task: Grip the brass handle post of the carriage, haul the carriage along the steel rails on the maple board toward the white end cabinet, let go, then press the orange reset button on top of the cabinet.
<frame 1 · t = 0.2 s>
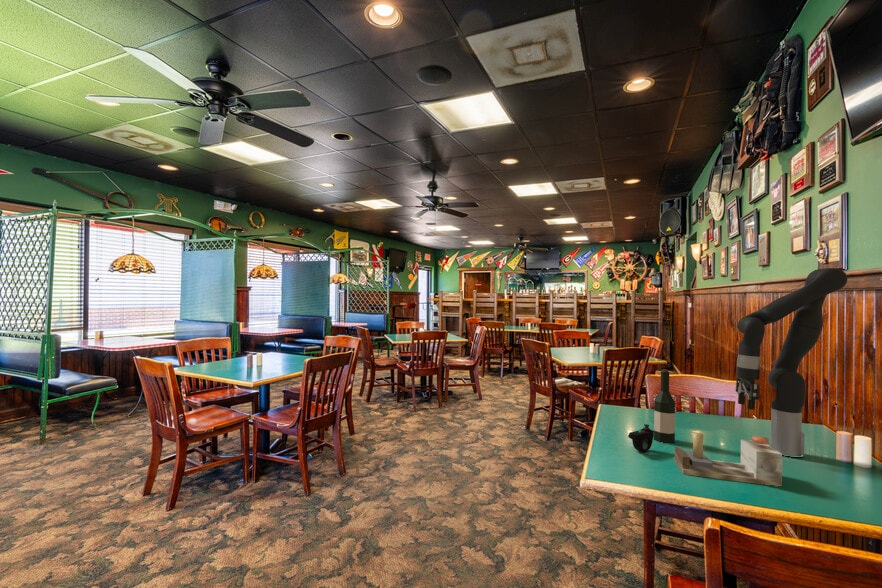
hand: (746, 406, 162), 17 cm above the table, tool pointing down, fingers open, 8 cm apart
rail board: (724, 473, 139), on the table
wine bottle: (664, 440, 171), on the table
carriage: (698, 447, 141), point 8 cm above the table, slide at 5.0 cm
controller: (641, 452, 157), on the table
reset button: (760, 440, 136), point 13 cm above the table, slide at 0.0 cm
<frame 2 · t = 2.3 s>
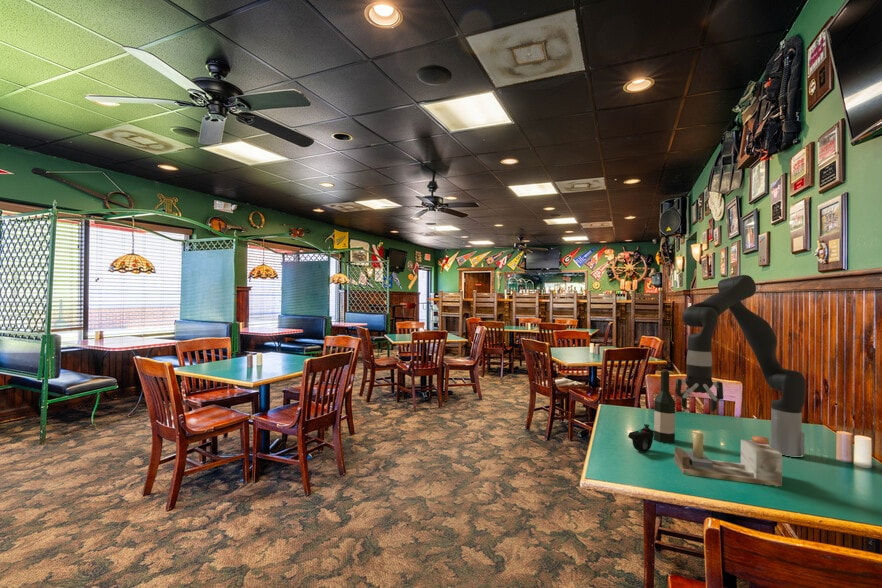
hand: (698, 409, 141), 21 cm above the table, tool pointing down, fingers open, 8 cm apart
nothing on the table moved.
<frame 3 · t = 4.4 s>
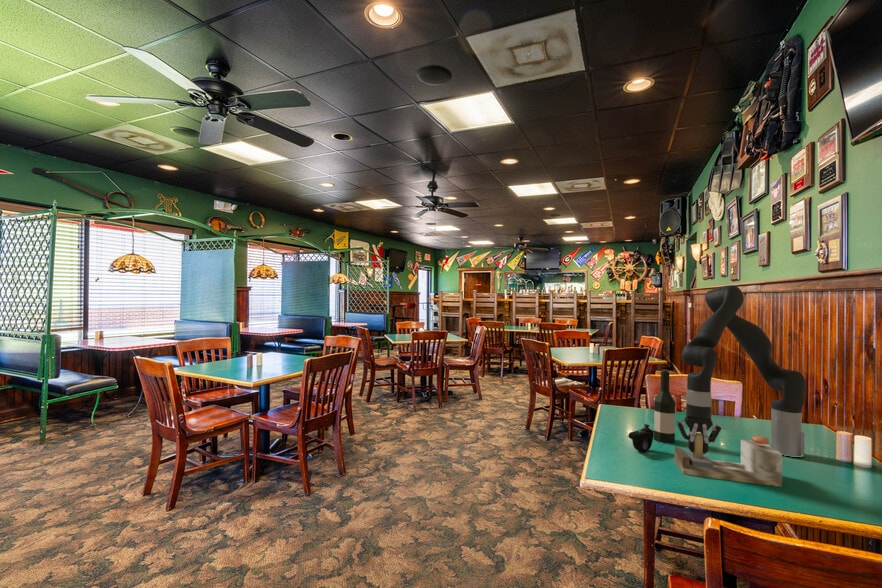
hand: (697, 452, 141), 6 cm above the table, tool pointing down, fingers closed on carriage, 3 cm apart
carriage: (698, 447, 141), point 8 cm above the table, slide at 5.0 cm, touching gripper
everything else where it was.
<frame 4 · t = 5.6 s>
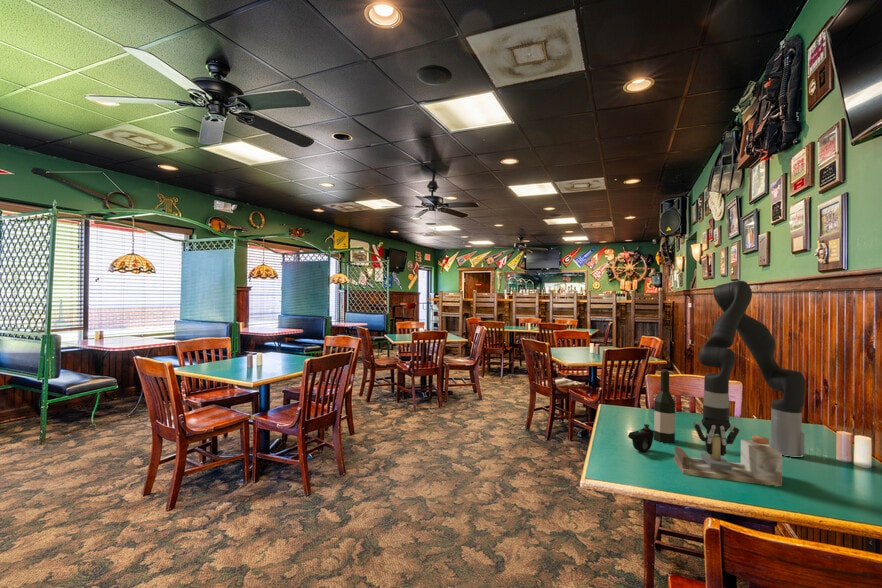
hand: (715, 454, 139), 6 cm above the table, tool pointing down, fingers closed on carriage, 3 cm apart
carriage: (715, 449, 139), point 8 cm above the table, slide at -0.4 cm, touching gripper
everything else where it was.
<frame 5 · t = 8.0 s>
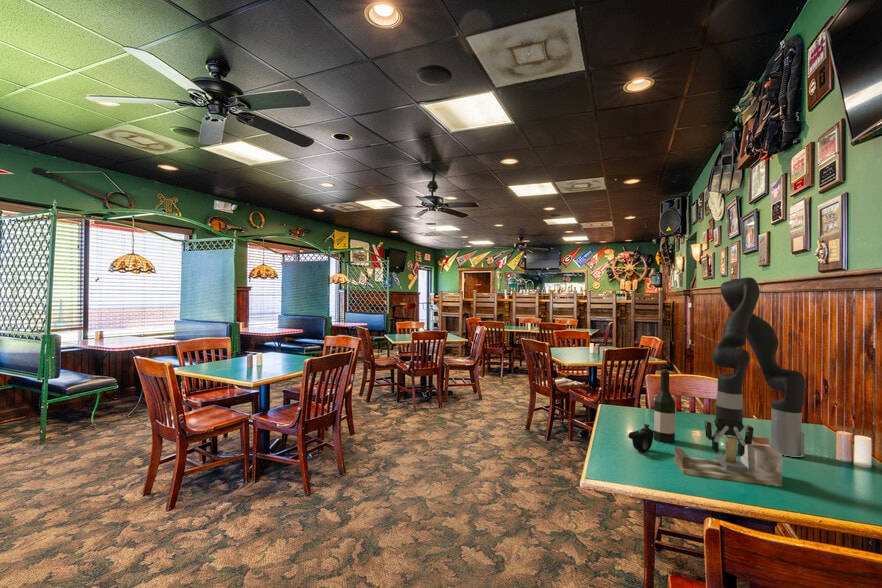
hand: (727, 453, 138), 7 cm above the table, tool pointing down, fingers open, 6 cm apart
carriage: (731, 451, 138), point 8 cm above the table, slide at -5.0 cm
everything else where it was.
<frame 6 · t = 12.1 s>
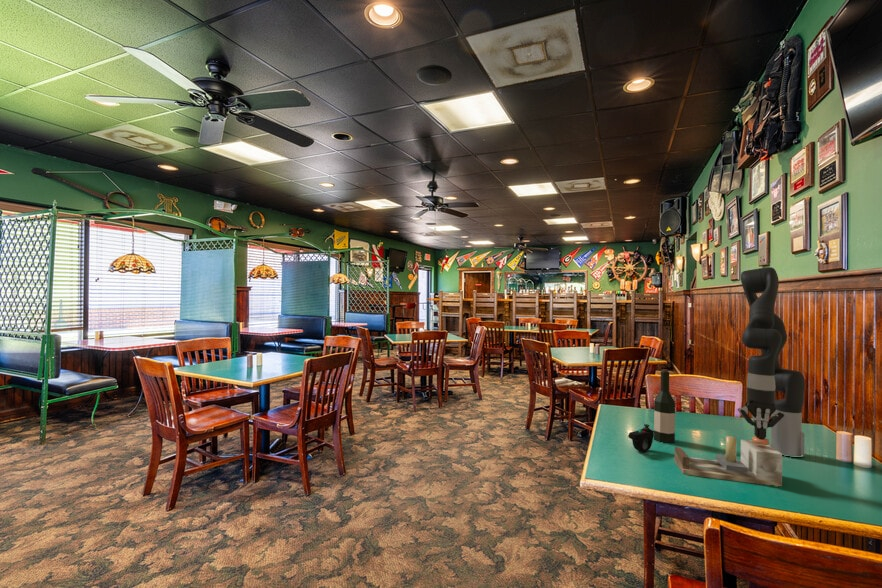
hand: (760, 438, 136), 13 cm above the table, tool pointing down, fingers closed
reset button: (760, 440, 136), point 12 cm above the table, slide at 0.2 cm, touching gripper
everything else where it was.
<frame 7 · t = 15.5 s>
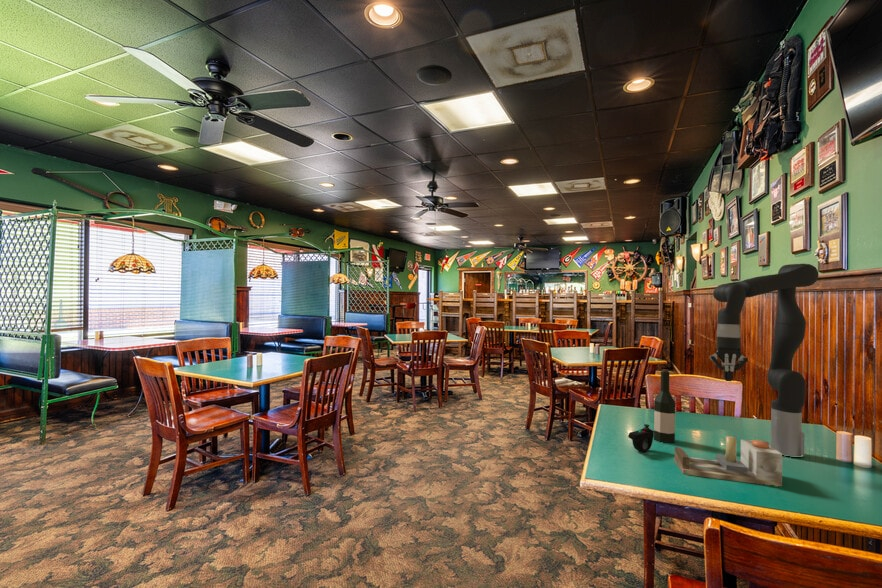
hand: (728, 380, 154), 29 cm above the table, tool pointing down, fingers closed
reset button: (760, 444, 136), point 11 cm above the table, slide at 1.3 cm
everything else where it was.
at the end: carriage slide at -5.0 cm; reset button slide at 1.3 cm; the gripper is holding nothing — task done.
